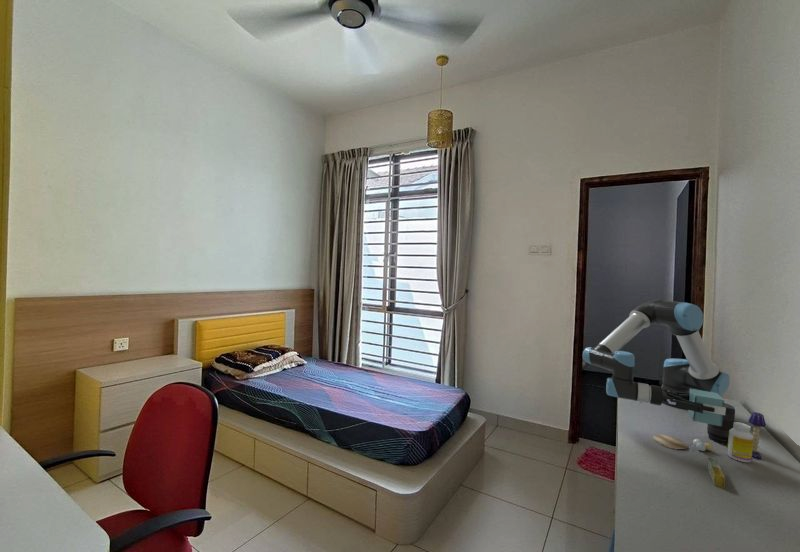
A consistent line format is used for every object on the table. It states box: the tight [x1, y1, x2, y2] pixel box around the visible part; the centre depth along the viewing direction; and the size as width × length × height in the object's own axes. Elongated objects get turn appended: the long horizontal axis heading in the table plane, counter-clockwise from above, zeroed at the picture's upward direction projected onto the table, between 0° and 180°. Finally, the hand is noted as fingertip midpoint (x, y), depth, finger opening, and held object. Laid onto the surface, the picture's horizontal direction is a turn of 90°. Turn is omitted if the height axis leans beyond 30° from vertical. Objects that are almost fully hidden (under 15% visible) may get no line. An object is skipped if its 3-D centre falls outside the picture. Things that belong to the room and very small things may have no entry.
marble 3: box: [703, 441, 714, 452], centre depth 139 cm, size 3×3×3 cm
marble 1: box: [692, 438, 703, 447], centre depth 141 cm, size 3×3×3 cm
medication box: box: [707, 457, 726, 489], centre depth 120 cm, size 12×3×4 cm, turn 148°
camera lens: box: [706, 402, 736, 445], centre depth 147 cm, size 8×8×15 cm
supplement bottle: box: [726, 421, 754, 464], centre depth 134 cm, size 7×7×13 cm
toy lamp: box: [747, 411, 767, 460], centre depth 136 cm, size 5×5×17 cm
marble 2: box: [695, 442, 707, 452], centre depth 138 cm, size 3×3×3 cm
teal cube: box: [687, 388, 725, 426], centre depth 139 cm, size 8×8×10 cm
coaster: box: [652, 434, 689, 450], centre depth 144 cm, size 11×11×1 cm
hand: (721, 407), depth 136 cm, fingers closed on teal cube, 8 cm apart
